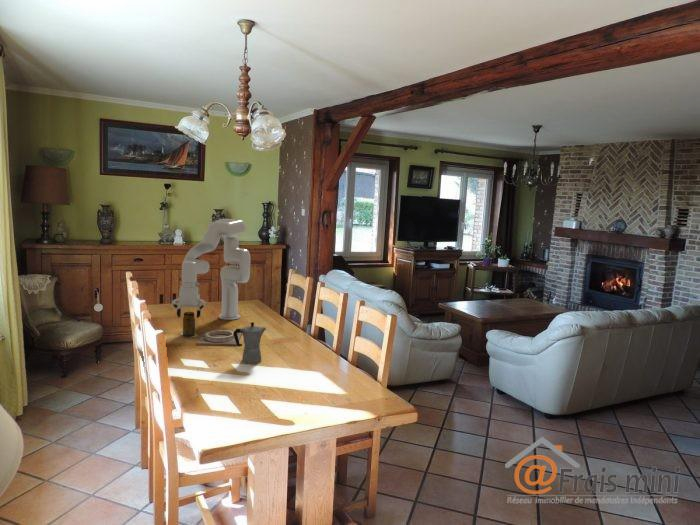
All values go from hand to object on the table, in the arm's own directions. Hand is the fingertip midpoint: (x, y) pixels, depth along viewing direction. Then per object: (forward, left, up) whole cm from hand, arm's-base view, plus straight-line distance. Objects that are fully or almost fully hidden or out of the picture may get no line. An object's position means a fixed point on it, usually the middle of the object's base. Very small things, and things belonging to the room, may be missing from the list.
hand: (188, 317), depth 257 cm
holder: (+5, +17, -10) cm, 21 cm away
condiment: (-1, 0, -10) cm, 10 cm away
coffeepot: (+37, +36, -10) cm, 52 cm away
